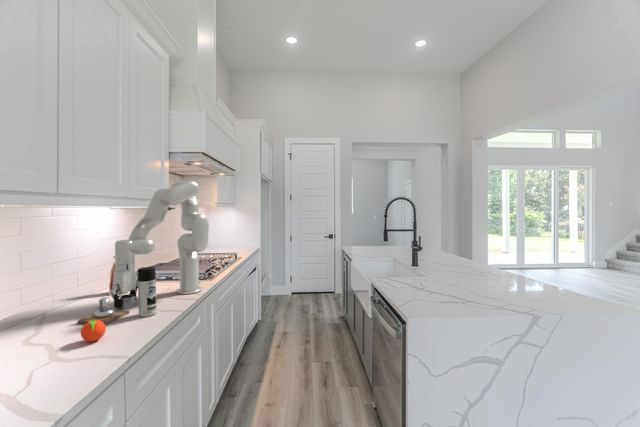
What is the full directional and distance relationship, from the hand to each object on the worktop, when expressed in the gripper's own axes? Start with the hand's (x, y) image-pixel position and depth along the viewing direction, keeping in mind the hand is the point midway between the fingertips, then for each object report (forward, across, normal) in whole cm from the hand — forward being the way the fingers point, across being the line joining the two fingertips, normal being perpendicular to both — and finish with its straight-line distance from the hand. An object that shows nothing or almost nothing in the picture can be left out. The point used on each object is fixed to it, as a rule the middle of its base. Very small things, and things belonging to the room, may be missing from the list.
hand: (125, 304), depth 141 cm
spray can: (+2, +9, +16) cm, 18 cm away
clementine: (+2, +35, +14) cm, 38 cm away
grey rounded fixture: (0, +14, +1) cm, 14 cm away
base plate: (+2, +14, +1) cm, 14 cm away
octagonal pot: (+2, 0, 0) cm, 2 cm away
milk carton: (+2, -24, -21) cm, 32 cm away
